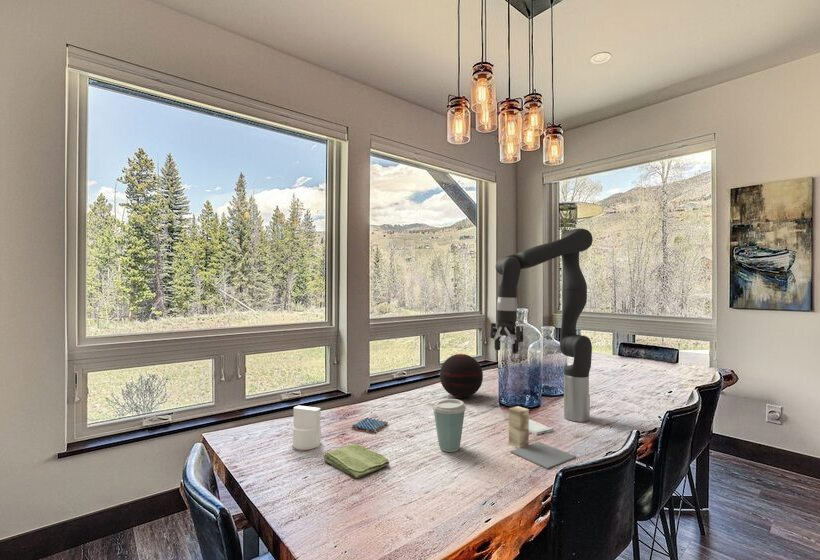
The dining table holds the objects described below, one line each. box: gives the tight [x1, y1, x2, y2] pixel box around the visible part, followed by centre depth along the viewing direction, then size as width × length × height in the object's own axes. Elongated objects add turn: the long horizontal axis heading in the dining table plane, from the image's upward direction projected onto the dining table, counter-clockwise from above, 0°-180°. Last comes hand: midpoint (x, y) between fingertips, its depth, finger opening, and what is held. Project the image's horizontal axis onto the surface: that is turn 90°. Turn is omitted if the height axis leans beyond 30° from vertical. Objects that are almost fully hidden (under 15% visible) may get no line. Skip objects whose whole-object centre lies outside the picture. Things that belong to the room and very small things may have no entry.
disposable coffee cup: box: [432, 398, 466, 453], centre depth 135 cm, size 11×11×15 cm
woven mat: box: [351, 417, 389, 435], centre depth 153 cm, size 10×11×2 cm
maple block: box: [508, 405, 530, 449], centre depth 138 cm, size 4×4×12 cm
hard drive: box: [529, 418, 554, 436], centre depth 154 cm, size 2×8×12 cm
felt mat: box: [510, 441, 577, 470], centre depth 130 cm, size 14×14×1 cm
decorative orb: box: [439, 353, 484, 399], centre depth 194 cm, size 20×20×20 cm
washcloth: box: [323, 443, 390, 479], centre depth 123 cm, size 13×18×3 cm
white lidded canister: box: [292, 405, 322, 451], centre depth 137 cm, size 9×9×12 cm
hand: (505, 351), depth 158 cm, fingers open, 8 cm apart
